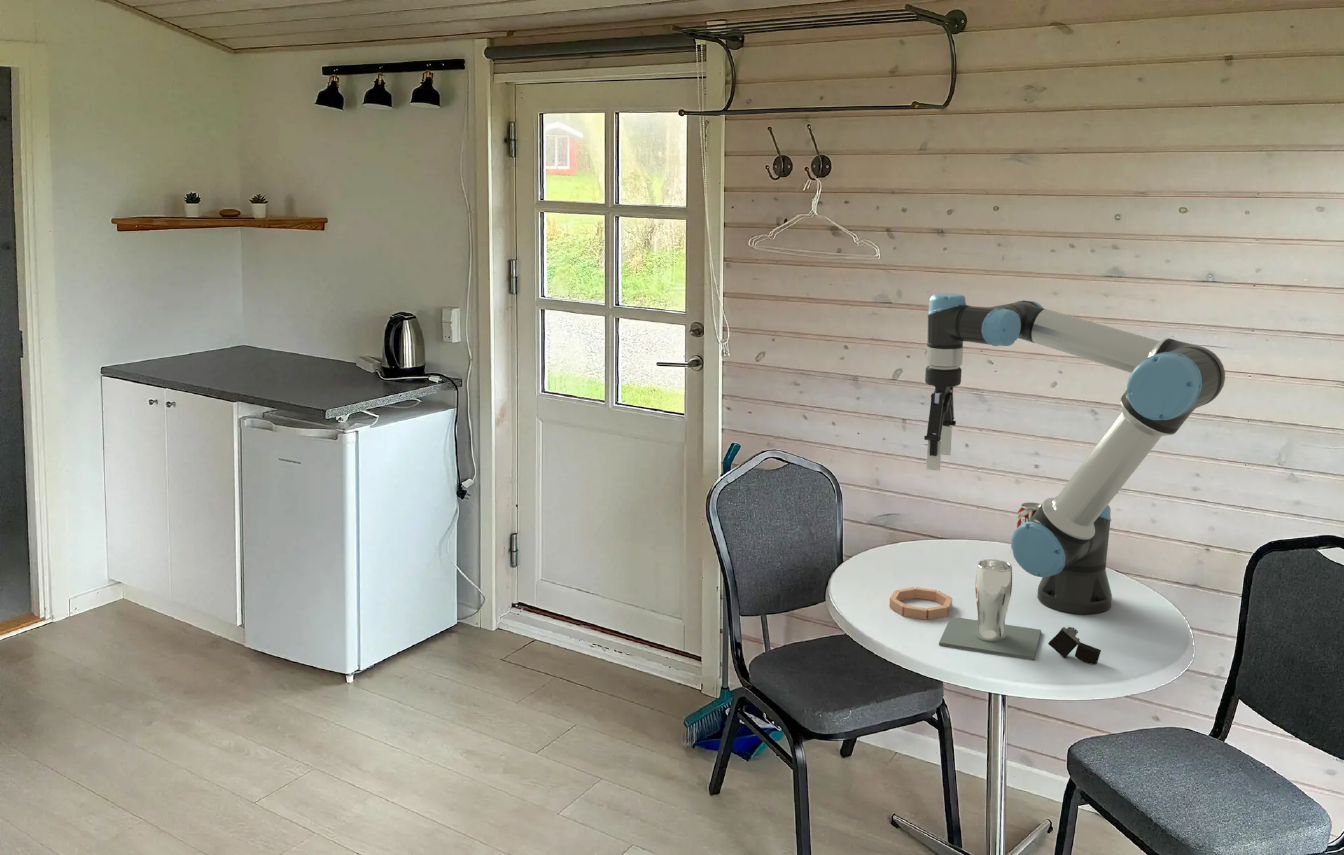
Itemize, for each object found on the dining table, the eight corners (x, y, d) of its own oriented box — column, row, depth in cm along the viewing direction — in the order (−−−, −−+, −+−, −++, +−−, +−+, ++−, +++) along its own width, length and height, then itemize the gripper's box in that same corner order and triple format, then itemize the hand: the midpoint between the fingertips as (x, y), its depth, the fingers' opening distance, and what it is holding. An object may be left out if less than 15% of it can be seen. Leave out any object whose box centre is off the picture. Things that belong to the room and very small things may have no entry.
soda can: (1047, 551, 279) (1051, 504, 276) (1040, 559, 273) (1043, 511, 270) (1019, 546, 282) (1023, 500, 279) (1011, 554, 277) (1015, 507, 274)
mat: (1040, 632, 232) (1041, 629, 232) (1033, 660, 219) (1034, 657, 219) (950, 619, 239) (950, 616, 239) (938, 645, 226) (939, 642, 226)
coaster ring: (954, 601, 248) (955, 592, 248) (945, 622, 237) (945, 613, 237) (897, 593, 253) (898, 584, 252) (885, 613, 242) (885, 604, 241)
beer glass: (1009, 644, 225) (1014, 572, 222) (973, 641, 226) (977, 569, 223) (1007, 630, 232) (1011, 560, 228) (971, 627, 233) (975, 557, 230)
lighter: (1087, 671, 221) (1106, 652, 218) (1084, 675, 219) (1103, 656, 216) (1050, 639, 223) (1069, 620, 221) (1047, 643, 222) (1065, 624, 219)
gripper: (936, 355, 258) (931, 446, 263) (914, 375, 236) (910, 474, 241) (970, 357, 256) (965, 450, 261) (951, 377, 233) (946, 478, 238)
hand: (938, 462), depth 251 cm, fingers open, 13 cm apart
